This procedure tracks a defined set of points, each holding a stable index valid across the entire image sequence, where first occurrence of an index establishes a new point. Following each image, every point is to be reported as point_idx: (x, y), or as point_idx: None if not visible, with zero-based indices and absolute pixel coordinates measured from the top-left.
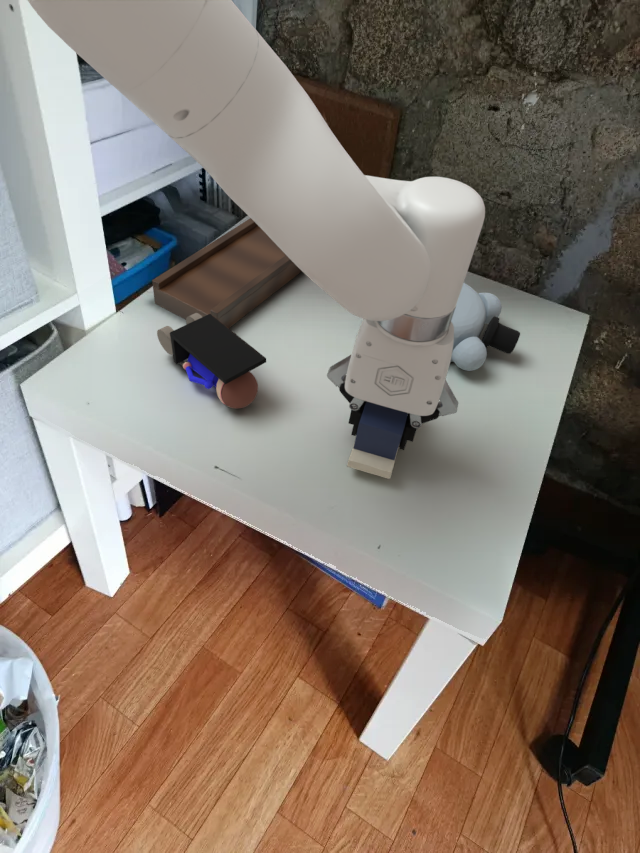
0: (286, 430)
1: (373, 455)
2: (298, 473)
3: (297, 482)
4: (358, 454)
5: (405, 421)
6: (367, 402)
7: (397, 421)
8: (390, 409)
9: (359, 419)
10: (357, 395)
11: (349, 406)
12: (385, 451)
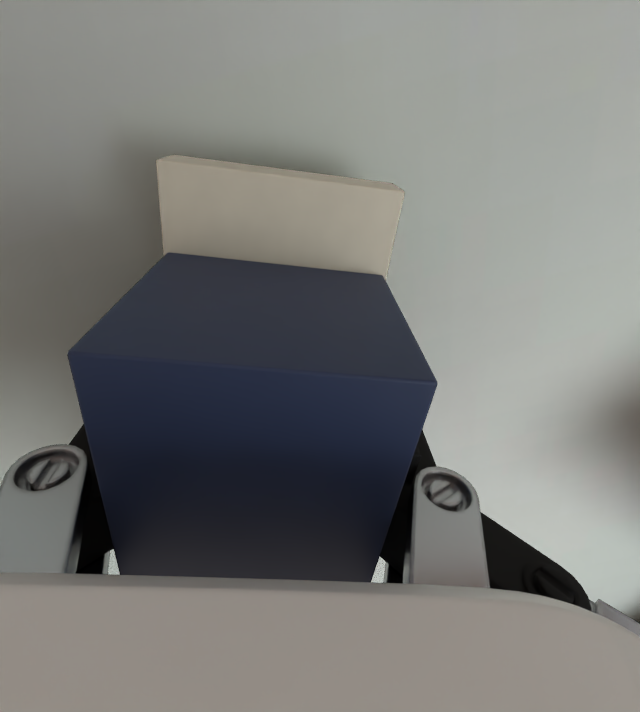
0: (598, 337)
1: (277, 256)
2: (586, 130)
3: (600, 69)
4: (354, 244)
5: (96, 473)
6: (379, 537)
7: (152, 460)
8: (226, 528)
9: None
10: (563, 645)
11: (468, 484)
12: (214, 272)
